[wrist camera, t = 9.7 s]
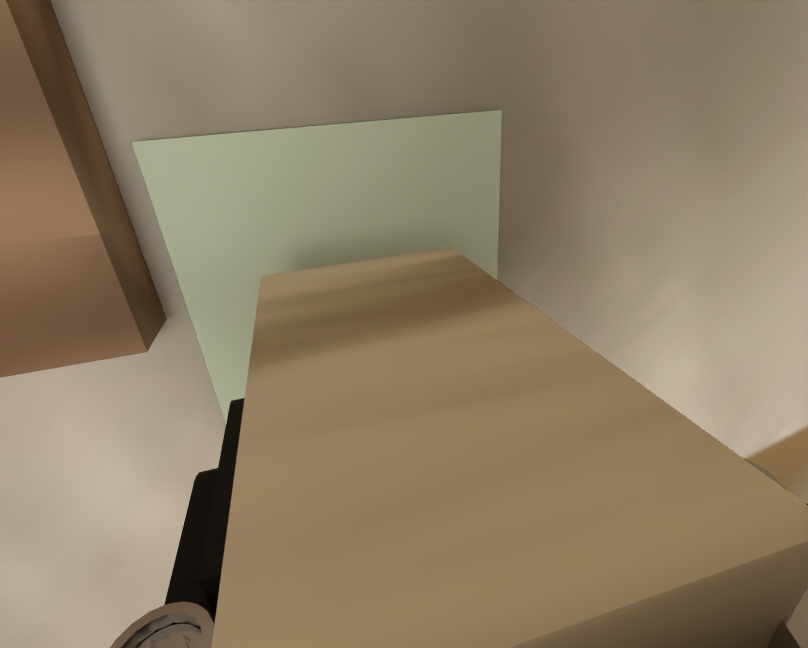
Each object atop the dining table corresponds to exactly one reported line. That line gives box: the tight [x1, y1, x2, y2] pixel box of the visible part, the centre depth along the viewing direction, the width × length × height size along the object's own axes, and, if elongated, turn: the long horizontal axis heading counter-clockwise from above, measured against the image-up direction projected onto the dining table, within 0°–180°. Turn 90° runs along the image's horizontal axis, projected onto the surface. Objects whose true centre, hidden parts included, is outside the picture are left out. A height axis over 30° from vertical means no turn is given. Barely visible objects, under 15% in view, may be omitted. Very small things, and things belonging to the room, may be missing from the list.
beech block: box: [211, 247, 808, 648], centre depth 9 cm, size 6×6×10 cm
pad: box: [132, 110, 502, 423], centre depth 17 cm, size 12×12×1 cm
